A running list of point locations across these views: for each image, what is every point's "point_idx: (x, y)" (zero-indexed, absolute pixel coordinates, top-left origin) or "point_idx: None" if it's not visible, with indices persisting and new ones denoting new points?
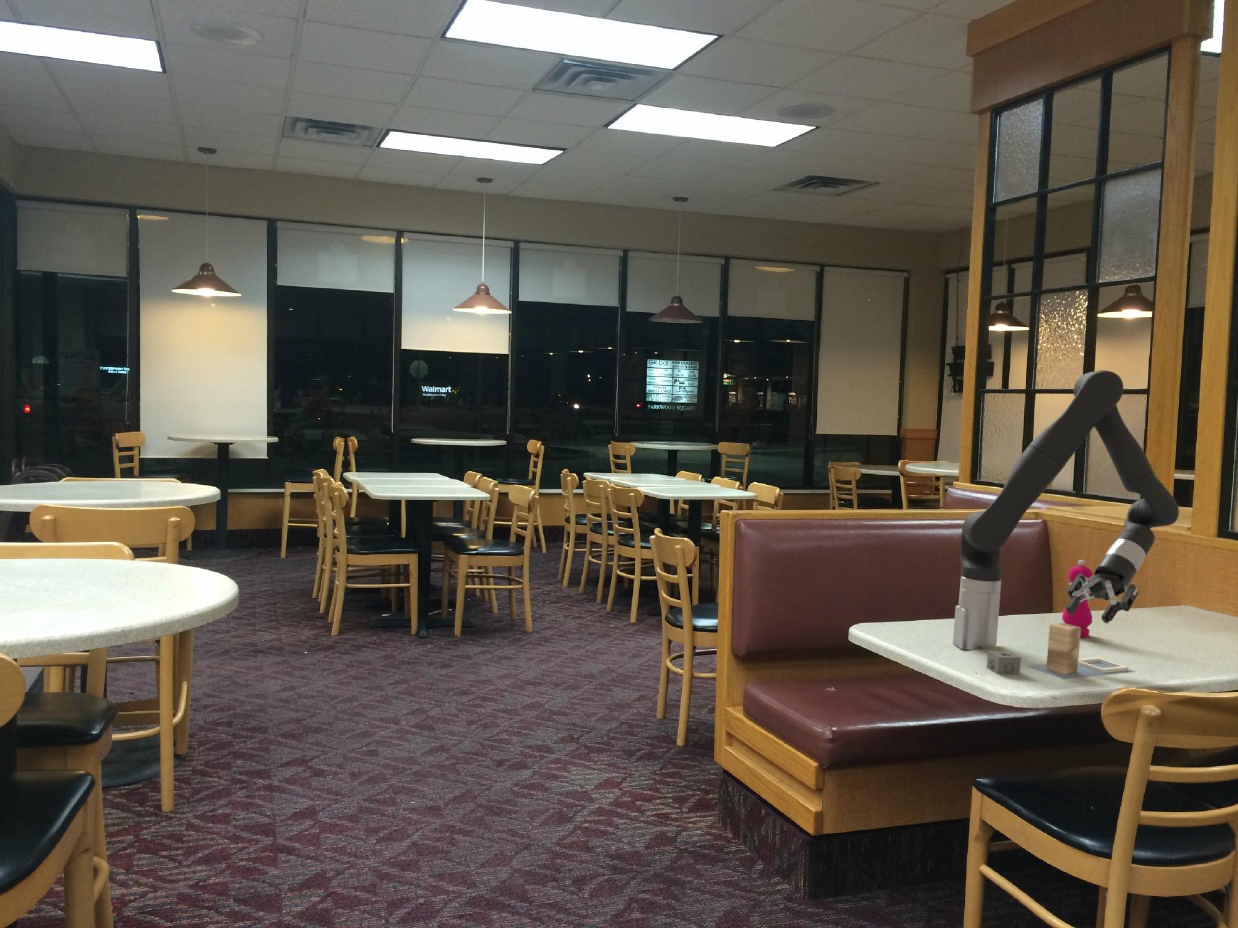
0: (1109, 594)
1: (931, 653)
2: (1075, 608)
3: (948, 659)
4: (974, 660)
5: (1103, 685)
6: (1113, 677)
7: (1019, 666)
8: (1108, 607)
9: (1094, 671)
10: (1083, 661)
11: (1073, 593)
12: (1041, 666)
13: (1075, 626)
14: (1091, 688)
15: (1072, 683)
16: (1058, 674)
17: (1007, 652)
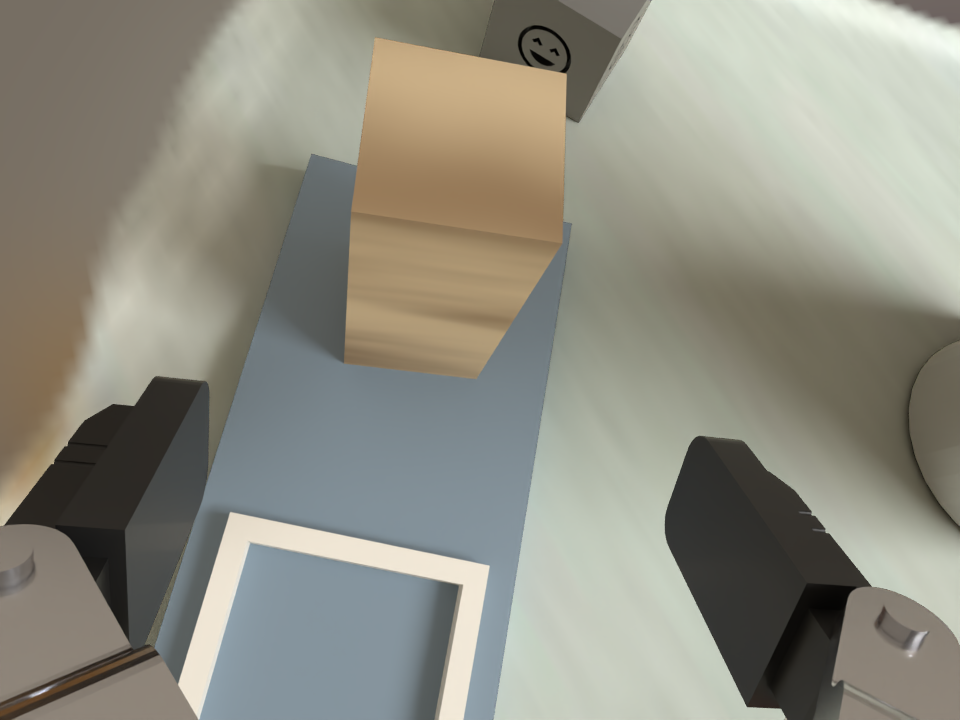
0: (134, 681)
1: (948, 131)
2: (705, 587)
3: (847, 105)
4: (801, 193)
5: (157, 356)
6: None
7: (493, 5)
8: (122, 483)
9: (289, 497)
10: (450, 643)
11: (925, 615)
12: None
13: (407, 209)
14: (174, 229)
15: None
16: None
17: (612, 12)
